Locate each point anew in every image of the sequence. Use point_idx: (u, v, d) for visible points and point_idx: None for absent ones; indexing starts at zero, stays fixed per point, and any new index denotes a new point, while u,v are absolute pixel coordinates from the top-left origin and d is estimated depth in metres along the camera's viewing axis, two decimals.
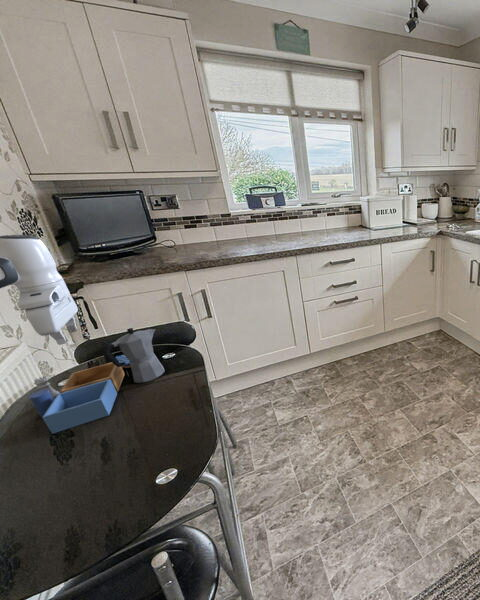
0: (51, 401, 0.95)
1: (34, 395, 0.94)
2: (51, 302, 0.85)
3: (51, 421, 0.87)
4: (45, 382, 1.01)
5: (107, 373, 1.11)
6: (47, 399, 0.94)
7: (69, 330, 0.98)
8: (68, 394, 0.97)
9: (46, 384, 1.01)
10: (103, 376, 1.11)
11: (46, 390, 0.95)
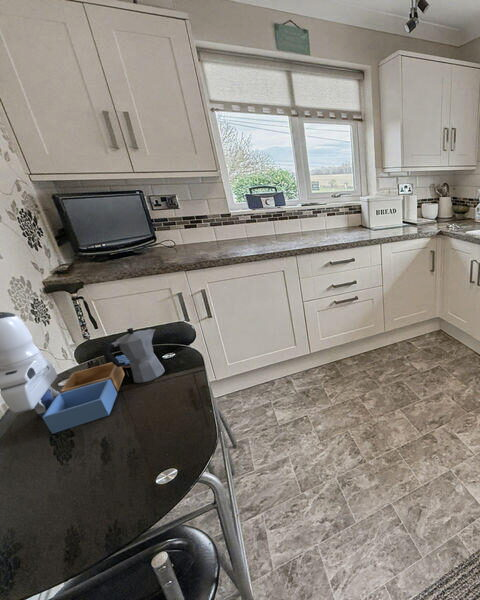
0: (51, 401, 0.95)
1: None
2: (26, 380, 0.86)
3: (51, 421, 0.87)
4: None
5: (107, 373, 1.11)
6: (47, 399, 0.94)
7: None
8: (68, 394, 0.97)
9: None
10: (103, 376, 1.11)
11: None
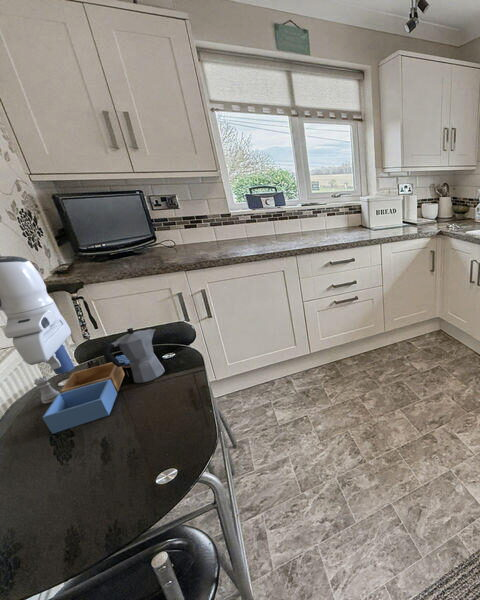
0: (66, 357, 0.89)
1: None
2: (41, 329, 0.79)
3: (51, 421, 0.87)
4: (45, 382, 1.01)
5: (107, 373, 1.11)
6: (61, 354, 0.88)
7: None
8: (68, 394, 0.97)
9: (46, 384, 1.01)
10: (103, 376, 1.11)
11: None
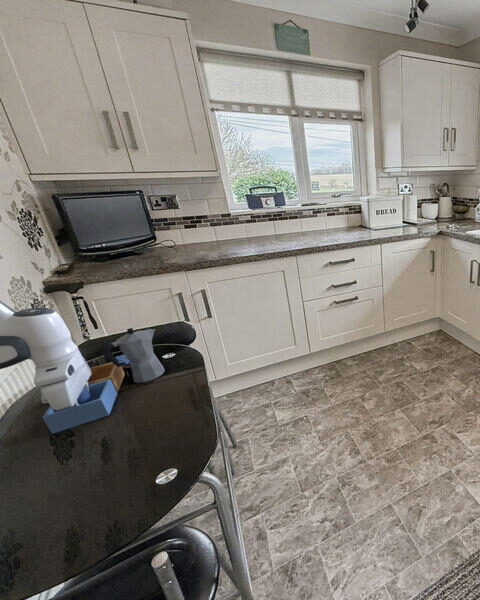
0: (88, 398, 0.94)
1: None
2: (67, 377, 0.84)
3: (51, 421, 0.87)
4: None
5: (107, 373, 1.11)
6: (84, 396, 0.93)
7: None
8: None
9: None
10: (103, 376, 1.11)
11: None
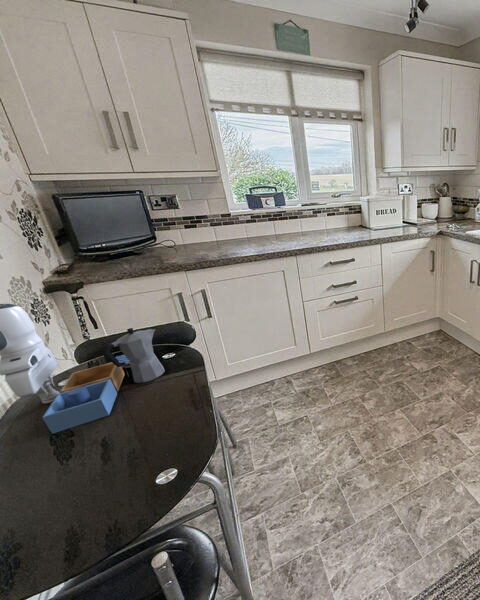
0: (88, 398, 0.94)
1: (72, 392, 0.92)
2: (29, 366, 0.92)
3: (51, 421, 0.87)
4: (45, 382, 1.01)
5: (107, 373, 1.11)
6: (84, 396, 0.93)
7: None
8: None
9: (46, 384, 1.01)
10: (103, 376, 1.11)
11: (83, 387, 0.94)
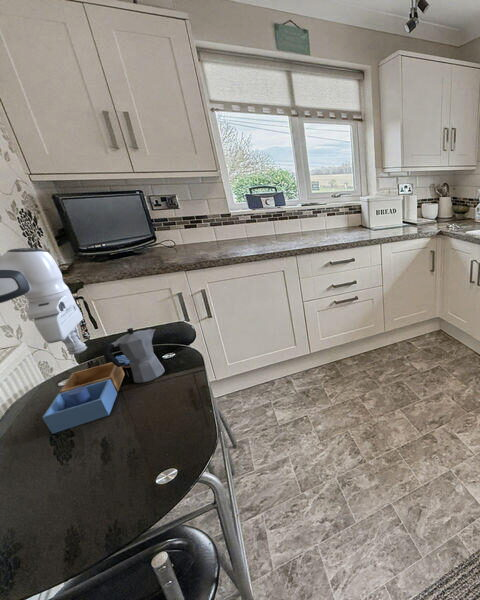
0: (88, 398, 0.94)
1: (72, 392, 0.92)
2: (58, 311, 0.90)
3: (51, 421, 0.87)
4: (72, 332, 0.99)
5: (107, 373, 1.11)
6: (84, 396, 0.93)
7: None
8: None
9: (73, 334, 0.99)
10: (103, 376, 1.11)
11: (83, 387, 0.94)
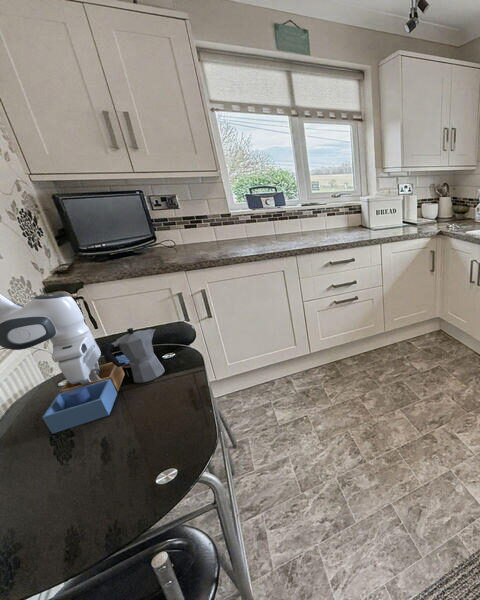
0: (88, 398, 0.94)
1: (72, 392, 0.92)
2: (81, 354, 0.95)
3: (51, 421, 0.87)
4: (92, 370, 1.04)
5: (107, 373, 1.11)
6: (84, 396, 0.93)
7: None
8: None
9: (93, 372, 1.04)
10: (103, 376, 1.11)
11: (83, 387, 0.94)
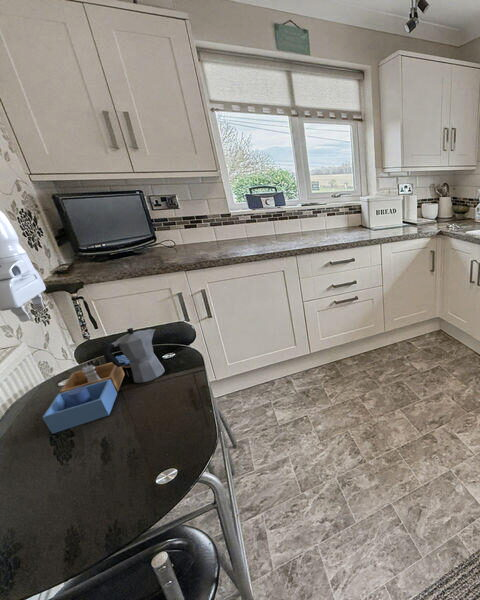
0: (88, 398, 0.94)
1: (72, 392, 0.92)
2: (11, 275, 0.81)
3: (51, 421, 0.87)
4: (92, 370, 1.04)
5: (107, 373, 1.11)
6: (84, 396, 0.93)
7: (35, 308, 0.94)
8: None
9: (93, 372, 1.04)
10: (103, 376, 1.11)
11: (83, 387, 0.94)
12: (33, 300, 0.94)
